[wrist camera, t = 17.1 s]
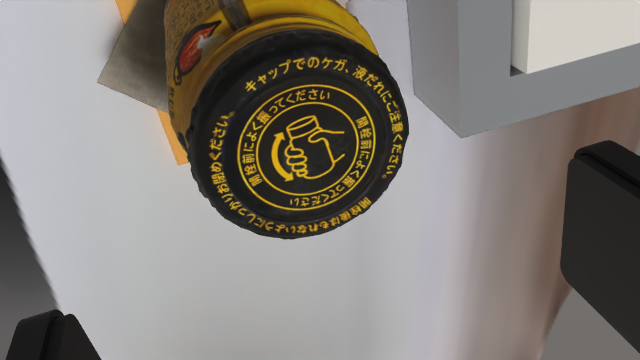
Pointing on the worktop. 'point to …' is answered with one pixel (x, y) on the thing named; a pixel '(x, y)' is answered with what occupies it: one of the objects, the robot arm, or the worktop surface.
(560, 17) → the button
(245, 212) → the condiment
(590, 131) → the worktop surface
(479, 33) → the box
